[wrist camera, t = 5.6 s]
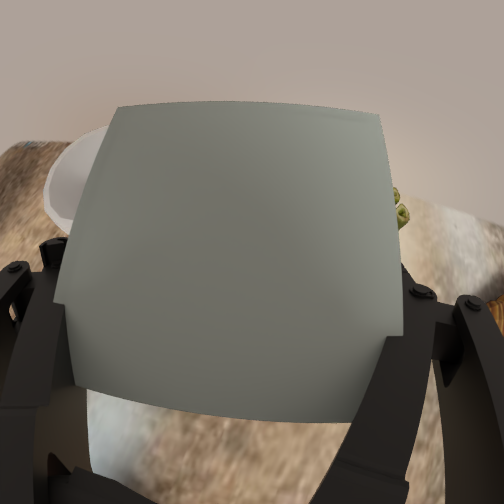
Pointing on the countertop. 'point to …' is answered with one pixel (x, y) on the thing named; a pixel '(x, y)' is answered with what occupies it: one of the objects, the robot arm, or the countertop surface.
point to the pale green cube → (235, 260)
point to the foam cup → (71, 178)
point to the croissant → (498, 312)
